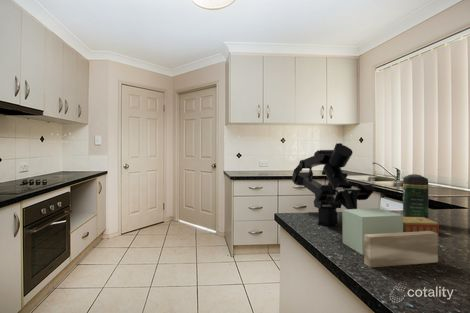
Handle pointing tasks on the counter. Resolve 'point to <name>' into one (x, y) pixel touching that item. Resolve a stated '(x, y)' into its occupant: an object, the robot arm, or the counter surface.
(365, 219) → the block
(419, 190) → the coffee jar
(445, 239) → the counter surface
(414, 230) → the carton
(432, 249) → the board
